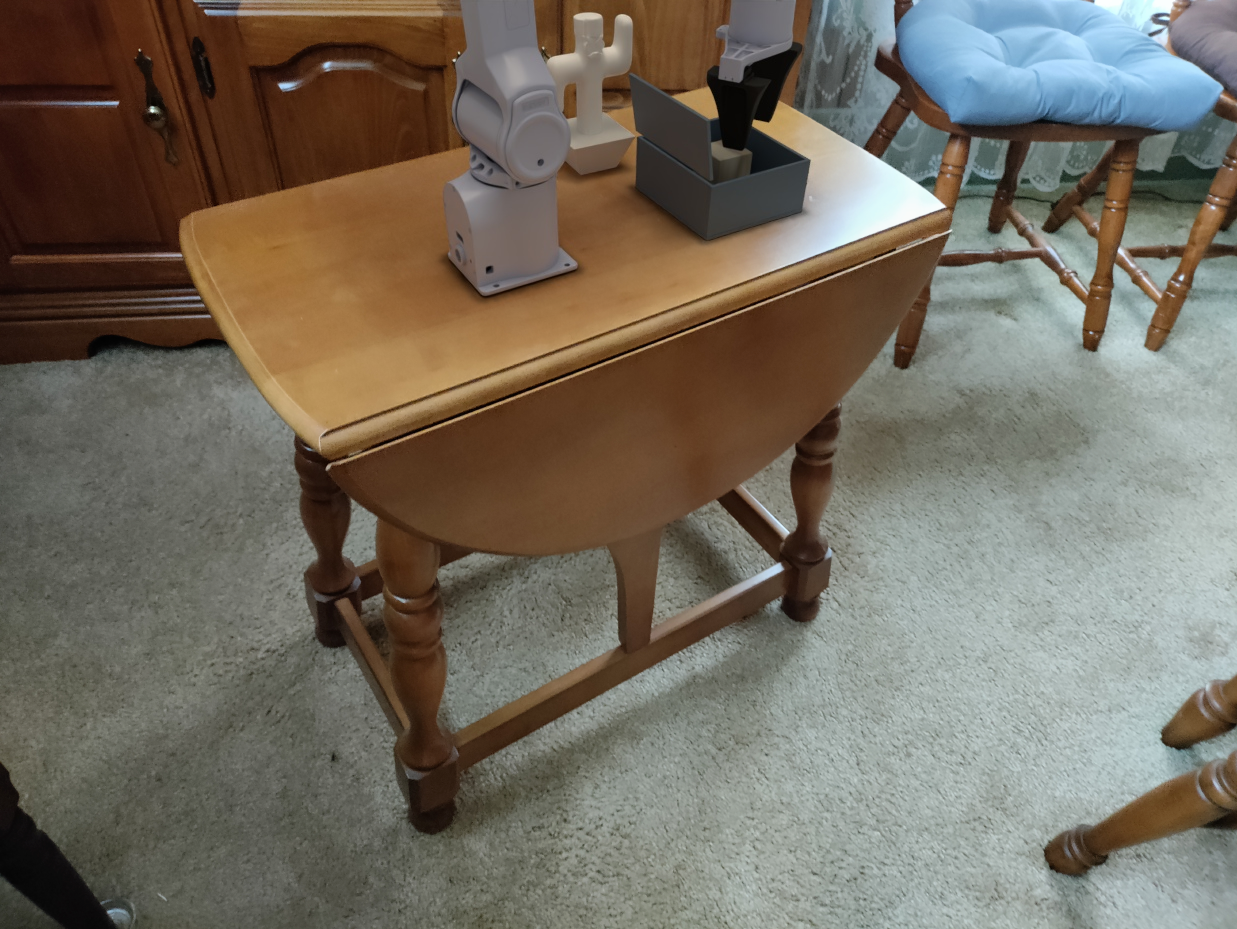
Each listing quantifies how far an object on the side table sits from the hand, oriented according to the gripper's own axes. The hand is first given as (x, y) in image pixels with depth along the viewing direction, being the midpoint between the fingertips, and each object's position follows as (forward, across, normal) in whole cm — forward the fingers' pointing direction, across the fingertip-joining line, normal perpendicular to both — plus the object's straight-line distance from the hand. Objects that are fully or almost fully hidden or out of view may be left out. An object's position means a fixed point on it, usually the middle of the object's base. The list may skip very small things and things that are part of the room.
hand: (747, 133), depth 85 cm
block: (+4, -1, -1) cm, 4 cm away
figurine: (+6, +1, -17) cm, 18 cm away
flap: (-3, +8, -5) cm, 10 cm away
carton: (+6, +2, -2) cm, 7 cm away
